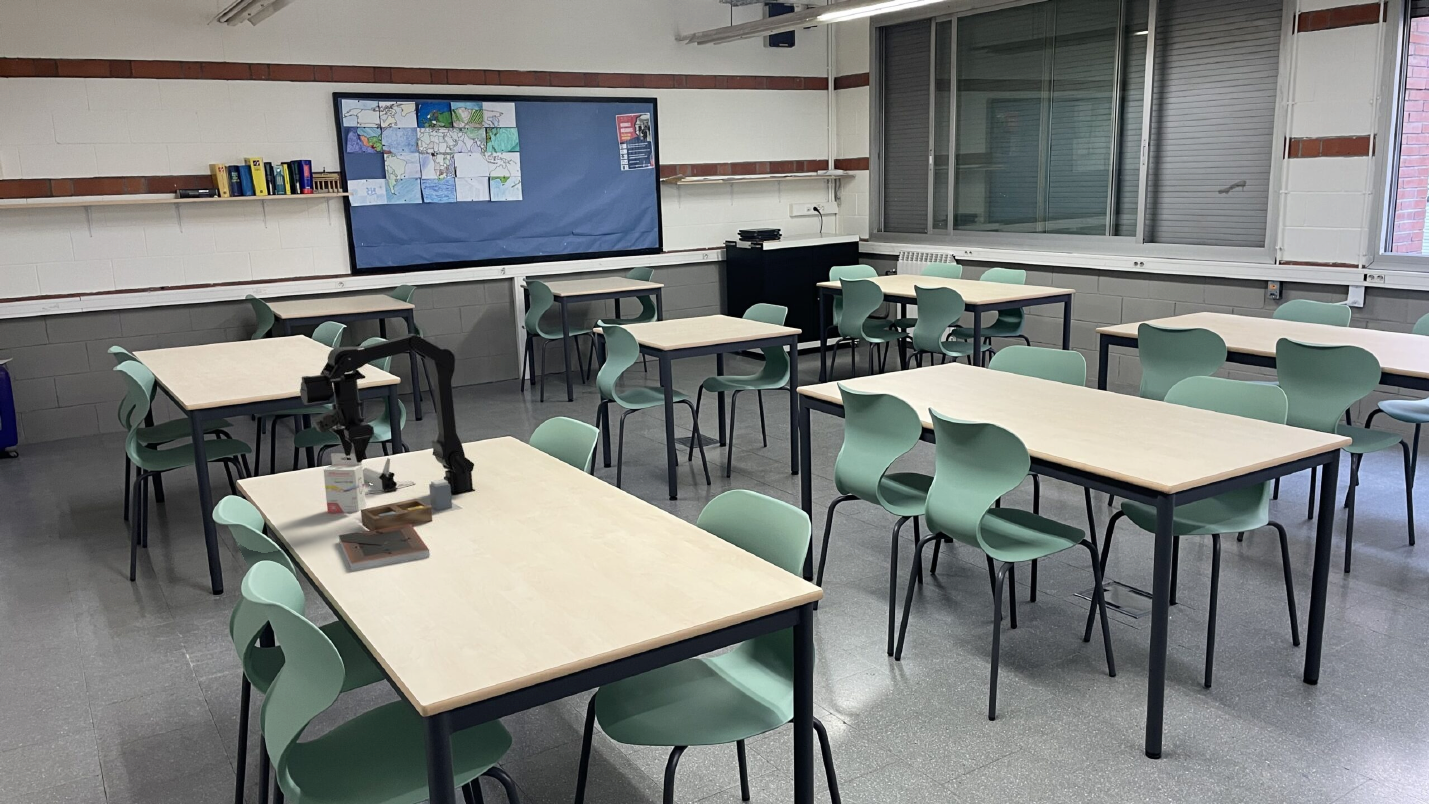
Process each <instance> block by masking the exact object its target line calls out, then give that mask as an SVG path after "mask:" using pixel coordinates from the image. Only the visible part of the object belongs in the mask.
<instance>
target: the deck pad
mask: <svg viewBox="0 0 1429 804" xmlns="http://www.w3.org/2000/svg"><path fill="white" fill-rule="evenodd" d="M429 506H430V507H431V504H430V505H429ZM461 509H463V507H462V506H460V505H458V504H456V503H454V502H452V508H450V509H445V510H440V511H436V510H434V509H433V508H431V510H432V516H433V515H439V514H443V513H447V512H451V511H457V510H461Z"/></svg>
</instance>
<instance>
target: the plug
mask: <svg viewBox="0 0 1429 804" xmlns="http://www.w3.org/2000/svg"><path fill="white" fill-rule="evenodd" d="M428 486H429V496H430V497H429V498H430V505H431V508H433V509H434V510H436V511H440V510H445V509H450V508H452V495H451V488H450V484H448V481H446V480H444V478H441V479H437V480H431V481H430V484H429V485H428Z"/></svg>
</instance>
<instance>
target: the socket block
mask: <svg viewBox="0 0 1429 804" xmlns="http://www.w3.org/2000/svg"><path fill="white" fill-rule="evenodd" d="M360 517H361V525H362V527H364V528H365V529H367V531H370V530H377V529H383V528H389V527H395V526H401V525H407V524H411V525H412V526H417V525H421V524H426V523H431V522H433V515H432V510H431V507H430V505H428V504H426V503H425V502H423V501H421V500H420V499H418V498H411V499H408V500H407V499H406V500H402V501H401V500H400V501H398V502H397V501H396V502H392V503H387V504H382V505H377V506H373V507H372V506H371V507H367V508H363V509H362V510H360Z"/></svg>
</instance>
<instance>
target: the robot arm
mask: <svg viewBox="0 0 1429 804" xmlns="http://www.w3.org/2000/svg"><path fill="white" fill-rule="evenodd" d="M408 352H413V353H414V354H416V355H417V356H419V357H420V358H422V359H423V360H424V361H425V365H426V369H427V372H428V374H429V376H430V377H431V381H432V382H433V391H434V392H433V393H434V400H435V411H436V419H437V430H438V434H437V438H436V440H431V446H432V449H433V451H432V456H434V457H435V460H436V461H437V462H438V463H439V464H441V465H442V467H443V469H445V470H444V473H445V474H444V475H445V476H444V477H443V479H444V480H446V481H448V484H450V488H451V496H458V495H462V494H467V493H472V492H476V489H475V488H474V487H473V475H472V472H473V471H474V468H475V463H474V462H472V461H471V460H470V459H469V458H467V457H466V454H465V451H464V447H463V444H462V441H461V439H460V437H459V435H458V434H457V426H456V417H455V415H456V414H455V407H454V405H455V404H454V396H453V385H452V380H453V377H454V374H455V371H456V370H455V367H456V356H455V354H454V353H453V352H452V351H451V350H450V349H448V348H443V347H441V346H437V345H436V344H433V343H432V342H429V341H427V340H426V339H424V338H423V337H422V336H421V335H419V334H414V333H408V334H406V335H404V336H398V337H395V338H392V339H387V340H384V341H380V342H376V343H372V344H367V345H364V346H363V345H362V346H342V347H341V346H340V347H334V348H332V349H331V350H330V351H329V353H328V355H327V362H326V364H325V365H324V367H323V369H322V370H321V372H320V374H317V375H303V376H301V382H300V389H299V393H300V398H301V401H302V403H303V405H305V406H306V405H312V404H318V403H326V402H329V401H331V399H332V398H333V396H334V402H332V404H331V409H329V410H327V411H325V412H323V413H321V414H319V415H317V416H315V417H313V418H312V419H311V421H312V423H313V425H314V427H315V428H316V431H317V432H319V433H321V434H323V433H327V432H328V430H329V431H331V432H332V433H333V434H335V435H336V436H337V438H338V440H339V442H340V445H341V448H342V450H343V452H344V453H343V454H345V455H346V456H349V455H350V454H352V450H353V454H355V458H356V461H357V463H360V462H361V463H362V462H363V459H364V457H365V454H366V452H367V448H368V446H369V444H370V441H371V439H372V438H373V436H374V435H375V432H374V431H375V429H374V426H373V425H371V424H370V423H367V422H366V421H365V420H364V417H362V414H361V413H362V412H361V407H363V401H360V397H359V396H360V395H359V386H358V380H363V379H366V375H364V374H363V373H361V372H360V370H358V369H361V368H363V367H364V366H366V365H367V364H369V363H371V362H374V361H377V360H382V359H385V358H389V357H392V356H393V357H394V356H398V355H401V354H405V353H408Z"/></svg>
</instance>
